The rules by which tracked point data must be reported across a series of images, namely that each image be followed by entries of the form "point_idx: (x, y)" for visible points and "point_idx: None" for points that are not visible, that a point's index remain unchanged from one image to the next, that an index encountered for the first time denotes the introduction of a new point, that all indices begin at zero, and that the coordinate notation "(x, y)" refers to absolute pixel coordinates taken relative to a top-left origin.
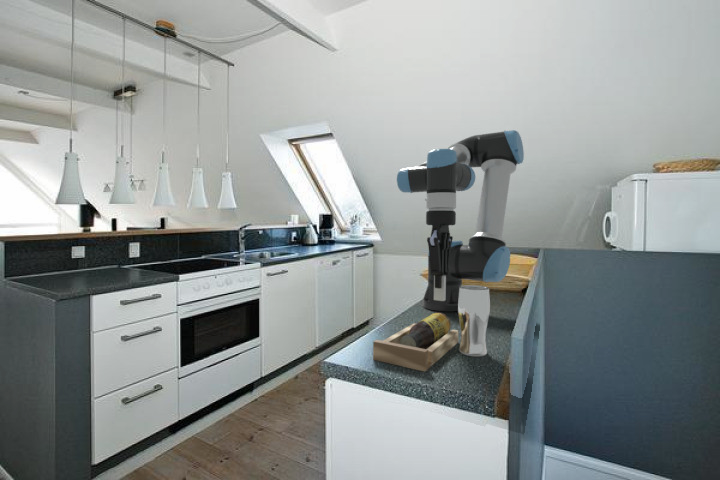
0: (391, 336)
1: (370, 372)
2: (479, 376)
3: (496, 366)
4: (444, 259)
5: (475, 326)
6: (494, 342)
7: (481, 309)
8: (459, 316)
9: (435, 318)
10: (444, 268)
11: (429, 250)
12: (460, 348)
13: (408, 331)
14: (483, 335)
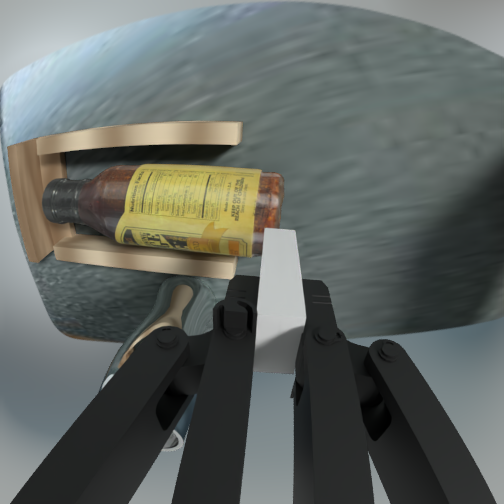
0: (72, 135)
1: (5, 170)
2: (92, 317)
3: None
4: (294, 478)
5: None
6: None
7: None
8: (132, 334)
9: (181, 237)
10: (294, 410)
11: (26, 490)
12: (165, 283)
13: (147, 144)
14: None
